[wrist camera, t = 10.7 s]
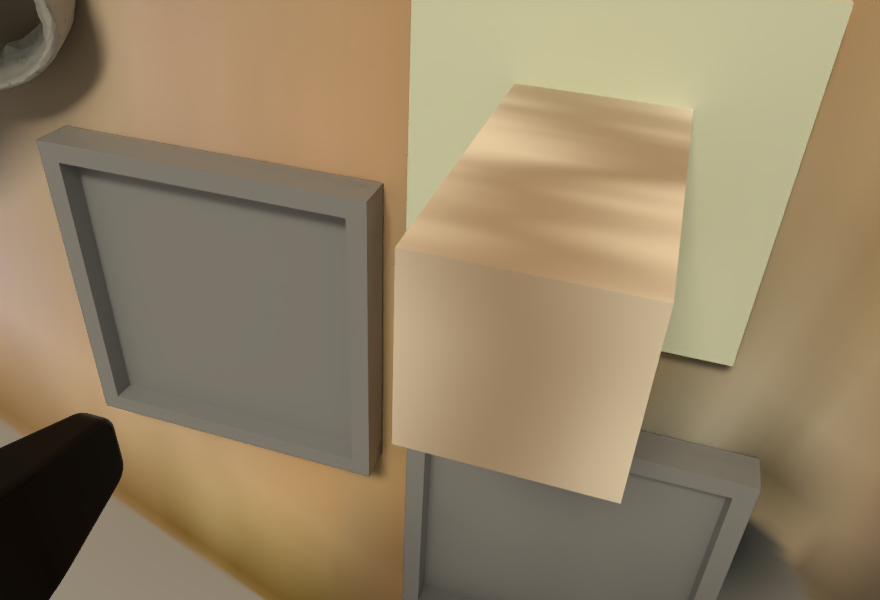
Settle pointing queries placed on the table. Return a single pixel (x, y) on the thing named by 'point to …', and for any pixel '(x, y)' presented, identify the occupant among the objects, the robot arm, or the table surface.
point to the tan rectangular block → (543, 290)
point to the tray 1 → (227, 291)
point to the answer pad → (652, 81)
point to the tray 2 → (578, 529)
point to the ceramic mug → (37, 44)
